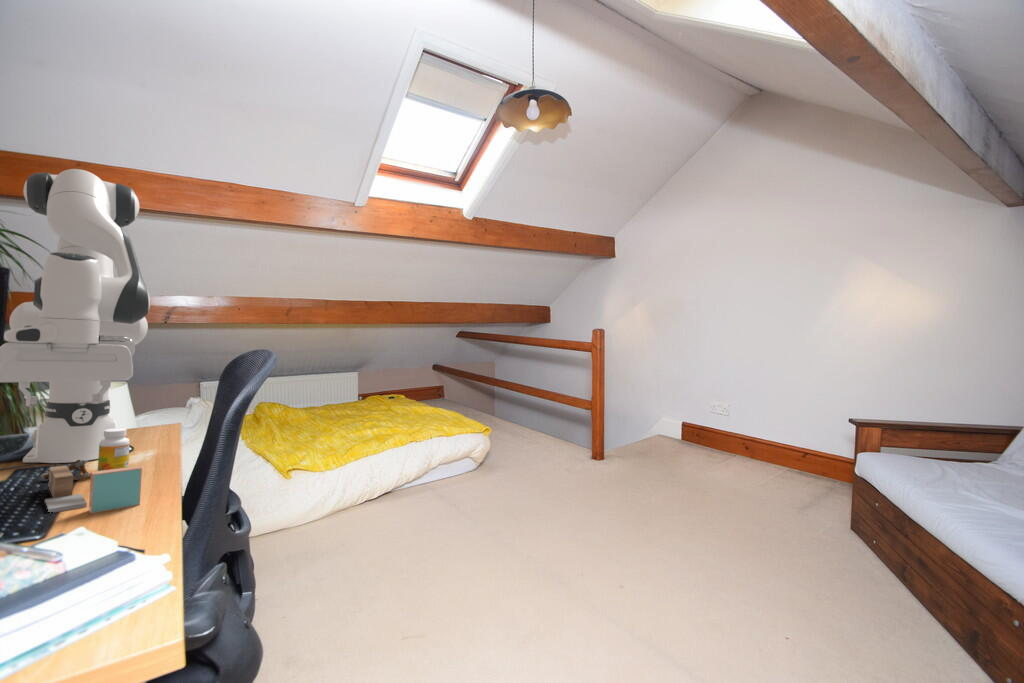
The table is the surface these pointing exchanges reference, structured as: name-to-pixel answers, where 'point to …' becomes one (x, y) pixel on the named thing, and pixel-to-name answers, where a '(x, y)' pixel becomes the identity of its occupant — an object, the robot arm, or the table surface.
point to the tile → (115, 489)
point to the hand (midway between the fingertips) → (65, 404)
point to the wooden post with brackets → (78, 464)
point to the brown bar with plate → (62, 491)
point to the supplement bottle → (113, 450)
